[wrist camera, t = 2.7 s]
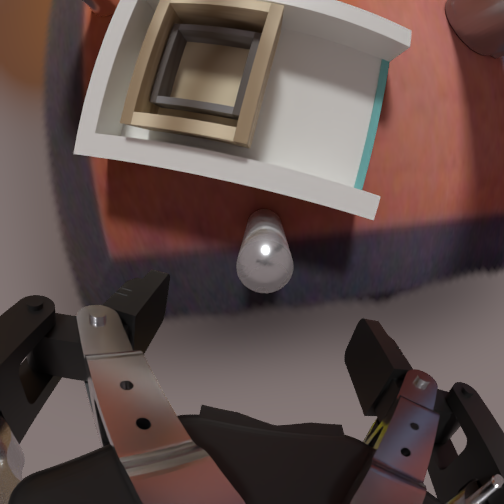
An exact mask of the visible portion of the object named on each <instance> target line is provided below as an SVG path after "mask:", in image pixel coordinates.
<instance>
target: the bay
mask: <svg viewBox="0 0 504 504" xmlns="http://www.w3.org/2000/svg"><path fill="white" fill-rule="evenodd" d="M159 1H160V0H120V1H119V3H118V6H117V8H116V10H115V12H114V15H113V17H112V19H111V22H110V24H109V27H108V29H107V32H106V34H105V37H104V40H103V42H102V45H101V48H100V51H99V54H98V57H97V60H96V63H95V66H94V69H93V72H92V76H91V79H90V82H89V86H88V90H87V93H86V97H85V101H84V105H83V109H82V114H81V118H80V123H79V127H78V132H77V137H76V143H75V149H74V154H79V155H86V156H93V157H100V158H107V159H113V160H120V161H126V162H132V163H138V164H144V165H149V166H155V167H160V168H166V169H171V170H176V171H181V172H186V173H191V174H196V175H201V176H206V177H210V178H215V179H220V180H224V181H229V182H233V183H237V184H242V185H246V186H250V187H254V188H259V189H263V190H267V191H271V192H275V193H279V194H283V195H287V196H290V197H294V198H298V199H302V200H306V201H309V202H313V203H316V204H320V205H324V206H327V207H331V208H334V209H338V210H341V211H345V212H348V213H351V214H355V215H358V216H361V217H365V218H368V219H371V220H374V218H375V214H376V211H377V207H378V204H379V200H380V196H378V195H375V194H372V193H369V192H366V191H363V190H362V188H363V184H364V180H365V177H366V173H367V169H368V165H369V161H370V157H371V153H372V148H373V144H374V140H375V135H376V131H377V126H378V122H379V117H380V112H381V107H382V102H383V97H384V91H385V86H386V80H387V74H388V68H389V62H390V61H391V60H393V59H394V58H396V57H397V56H398V55H400V54H401V53H403V52H404V51H405V50H407V49H408V48H410V42H411V30H409V29H407V28H405V27H403V26H401V25H399V24H396V23H394V22H392V21H390V20H387V19H385V18H383V17H380V16H378V15H376V14H373V13H371V12H368V11H365V10H363V9H360V8H357V7H354V6H352V5H349V4H346V3H343V2H340V1H336V0H257V1H263V2H269V3H274V4H279V5H284V11H283V18H282V26H281V33H280V37H279V41H278V45H277V48H276V52H275V56H274V59H273V63H272V67H271V70H270V74H269V78H268V82H267V86H266V89H265V93H264V97H263V101H262V105H261V109H260V112H259V116H258V120H257V124H256V128H255V132H254V136H253V140H252V144H251V148H246V147H241V146H237V145H232V144H227V143H222V142H217V141H212V140H207V139H202V138H196V137H190V136H185V135H179V134H172V133H166V132H159V131H152V130H146V129H142V128H138V127H134V126H130V125H126V124H122V123H120V120H121V116H122V111H123V107H124V103H125V100H126V96H127V92H128V89H129V85H130V81H131V78H132V75H133V71H134V68H135V65H136V62H137V59H138V56H139V53H140V50H141V47H142V44H143V41H144V38H145V36H146V33H147V30H148V28H149V25H150V23H151V20H152V18H153V15H154V13H155V10H156V8H157V5H158V3H159Z"/></svg>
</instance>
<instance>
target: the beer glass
mask: <svg viewBox="0 0 504 504" xmlns="http://www.w3.org/2000/svg"><path fill="white" fill-rule="evenodd" d="M82 1H84V2H85V3H86V4H87V5H88V6H89V7H90V9H91V10H92V12H93V13H94V14H95V15H97V16H109V15H112V14H114V12H115V10H116V8H117V6H118V3H119V1H120V0H82Z"/></svg>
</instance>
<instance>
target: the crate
mask: <svg viewBox="0 0 504 504" xmlns="http://www.w3.org/2000/svg"><path fill="white" fill-rule="evenodd" d="M283 11H284V5H279V4H274V3H269V2H263V1H257V0H160V1H159V3H158V5H157V8H156V10H155V13H154V15H153V18H152V20H151V23H150V25H149V28H148V30H147V33H146V36H145V38H144V41H143V44H142V47H141V50H140V53H139V56H138V59H137V62H136V65H135V68H134V71H133V75H132V78H131V81H130V85H129V89H128V92H127V96H126V100H125V103H124V107H123V111H122V116H121V120H120V123H122V124H126V125H130V126H134V127H138V128H142V129H146V130H152V131H159V132H166V133H172V134H179V135H185V136H190V137H196V138H202V139H207V140H212V141H217V142H222V143H227V144H232V145H237V146H241V147H246V148H251V144H252V140H253V136H254V132H255V128H256V124H257V120H258V116H259V112H260V109H261V105H262V101H263V97H264V93H265V89H266V86H267V82H268V78H269V74H270V70H271V67H272V63H273V59H274V56H275V52H276V48H277V45H278V41H279V37H280V33H281V26H282V18H283Z"/></svg>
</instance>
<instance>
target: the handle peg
mask: <svg viewBox="0 0 504 504" xmlns="http://www.w3.org/2000/svg"><path fill="white" fill-rule="evenodd" d="M237 273H238V276H239V278H240V280H241V282H242V283H243V284H244V285H245V286H246V287H247V288H249V289H251V290H253V291H255V292H259V293H271V292H275V291H277V290H279V289H281V288H282V287H284V286H285V285H286V284H287V283H288V281H289V280H290V278H291V276H292V273H293V260H292V256H291V253H290V250H289V246H288V243H287V240H286V236H285V233H284V230H283V227H282V223H281V220H280V218H279V216H278V215H277V214H276V213H275V212H273V211H271V210H268V209H260V210H257V211H255V212H254V213H253V214H252V215H251V216H250V217H249V219H248V222H247V226H246V230H245V233H244V237H243V241H242V245H241V248H240V252H239V256H238V260H237Z"/></svg>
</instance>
